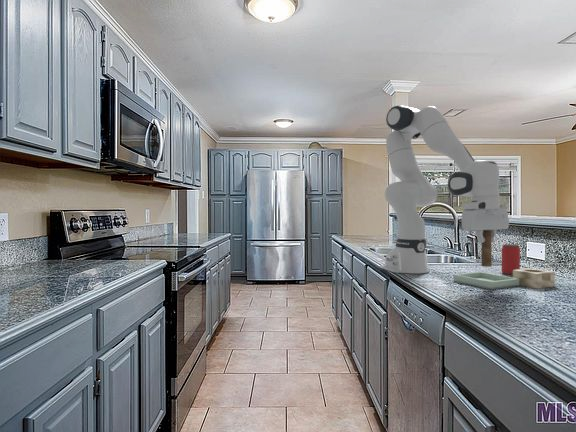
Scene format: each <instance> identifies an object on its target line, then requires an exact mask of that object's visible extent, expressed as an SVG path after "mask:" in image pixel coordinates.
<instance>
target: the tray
mask: <svg viewBox="0 0 576 432" xmlns="http://www.w3.org/2000/svg"><path fill="white" fill-rule="evenodd" d="M453 282H455V283H460V284H465V285H469V286H472V287H478V288H483V289H486V290H491V289H492V290H498V289H504V288H505V289H507V288H512V287H513V288H514V287H519V286H520V285H519V279H517V278H513V276H511V277H510V276H507V275H500V274H493V273H488V272H484V271H483V272H482V271H476V272H466V273H457V274H456V273H455V274H453Z"/></svg>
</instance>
